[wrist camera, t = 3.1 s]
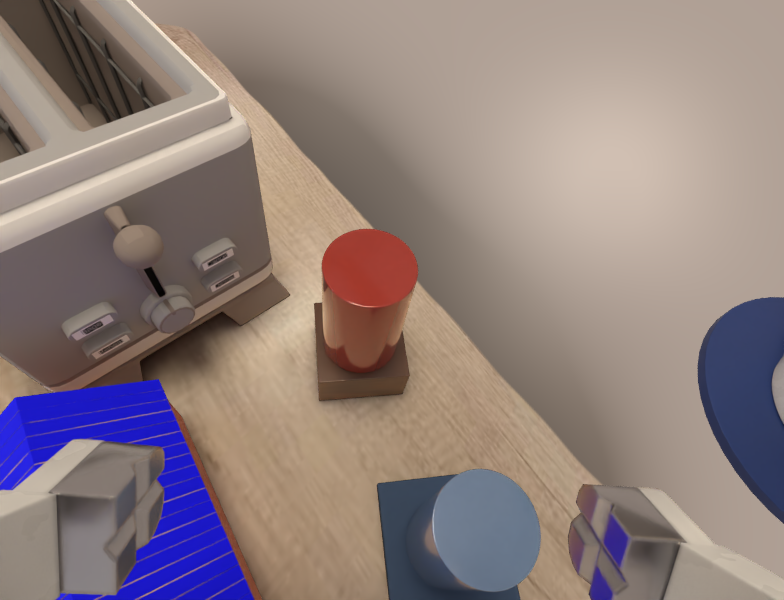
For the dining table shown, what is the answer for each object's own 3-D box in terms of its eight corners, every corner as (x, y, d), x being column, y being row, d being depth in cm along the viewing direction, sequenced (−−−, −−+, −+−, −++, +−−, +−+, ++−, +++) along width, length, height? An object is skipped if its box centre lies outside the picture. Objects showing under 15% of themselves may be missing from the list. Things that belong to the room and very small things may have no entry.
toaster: (96, 460, 34) (-135, 332, 17) (-68, 181, 45) (-310, -69, 28) (310, 318, 43) (299, 133, 25) (127, 110, 54) (32, -118, 36)
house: (184, 411, 37) (132, 346, 27) (304, 679, 29) (292, 726, 20) (11, 497, 33) (-126, 458, 23) (100, 840, 25) (-49, 1006, 15)
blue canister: (477, 492, 36) (523, 463, 27) (496, 583, 33) (555, 582, 24) (399, 502, 35) (423, 474, 26) (412, 597, 32) (443, 600, 23)
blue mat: (489, 471, 37) (491, 470, 37) (518, 605, 33) (522, 605, 32) (376, 484, 36) (377, 483, 35) (392, 627, 31) (393, 627, 31)
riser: (392, 321, 43) (397, 298, 40) (402, 393, 40) (409, 375, 37) (315, 325, 42) (314, 303, 39) (319, 400, 39) (318, 382, 35)
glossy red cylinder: (392, 304, 40) (410, 227, 31) (402, 370, 37) (425, 305, 28) (320, 307, 39) (319, 229, 30) (324, 376, 36) (324, 310, 27)
